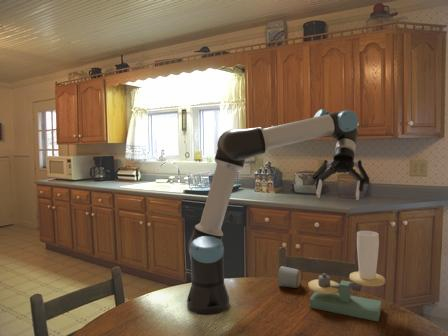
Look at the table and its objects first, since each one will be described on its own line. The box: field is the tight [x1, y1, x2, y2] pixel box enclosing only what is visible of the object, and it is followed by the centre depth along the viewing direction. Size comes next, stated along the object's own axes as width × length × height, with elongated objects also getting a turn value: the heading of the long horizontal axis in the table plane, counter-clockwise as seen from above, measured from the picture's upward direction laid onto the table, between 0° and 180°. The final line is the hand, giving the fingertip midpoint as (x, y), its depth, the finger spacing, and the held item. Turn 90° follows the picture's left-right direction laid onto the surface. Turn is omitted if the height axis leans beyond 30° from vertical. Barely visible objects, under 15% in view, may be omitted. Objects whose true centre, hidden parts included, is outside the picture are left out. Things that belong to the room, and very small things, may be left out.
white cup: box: [356, 230, 380, 280], centre depth 117 cm, size 7×7×15 cm
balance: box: [307, 270, 386, 322], centre depth 121 cm, size 25×11×12 cm, turn 62°
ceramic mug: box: [277, 265, 302, 289], centre depth 143 cm, size 11×8×8 cm
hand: (337, 196), depth 127 cm, fingers open, 13 cm apart
